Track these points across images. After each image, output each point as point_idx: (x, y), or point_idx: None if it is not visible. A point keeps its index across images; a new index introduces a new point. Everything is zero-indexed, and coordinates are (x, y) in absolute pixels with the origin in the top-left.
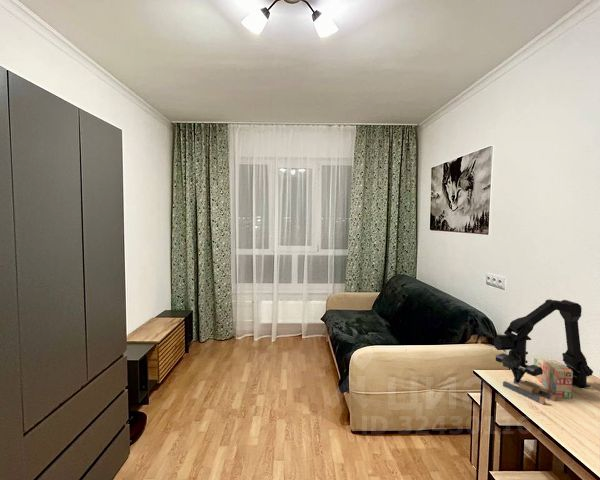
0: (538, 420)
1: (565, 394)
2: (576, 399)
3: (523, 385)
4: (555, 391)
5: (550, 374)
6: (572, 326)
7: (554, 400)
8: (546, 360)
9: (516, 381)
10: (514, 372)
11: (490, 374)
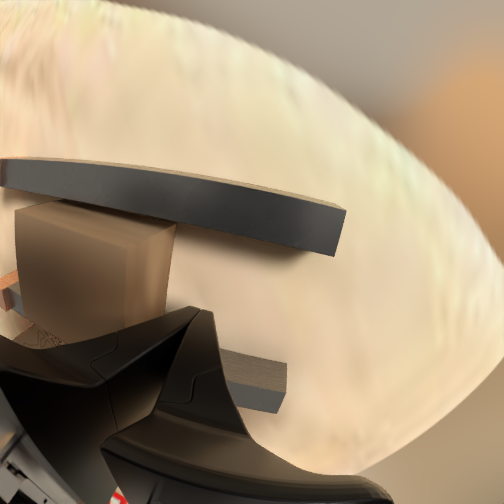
0: (25, 7)
1: None
2: None
3: (77, 228)
4: (15, 339)
5: None
6: None
7: (15, 272)
8: None
9: (199, 311)
10: (170, 390)
11: (469, 351)
